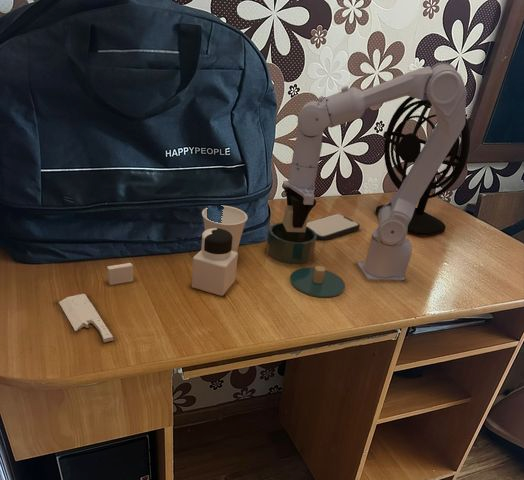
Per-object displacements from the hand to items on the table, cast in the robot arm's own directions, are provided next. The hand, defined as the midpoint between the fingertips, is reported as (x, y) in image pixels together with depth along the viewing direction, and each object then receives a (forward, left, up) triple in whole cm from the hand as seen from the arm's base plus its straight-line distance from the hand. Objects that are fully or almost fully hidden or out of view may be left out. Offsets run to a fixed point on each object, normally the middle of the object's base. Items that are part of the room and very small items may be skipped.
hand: (294, 222), depth 117 cm
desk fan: (-41, -22, -9) cm, 47 cm away
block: (0, 0, -1) cm, 1 cm away
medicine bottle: (+20, +14, -9) cm, 26 cm away
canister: (0, 0, -8) cm, 8 cm away
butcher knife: (+45, +27, -8) cm, 53 cm away
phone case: (-15, -15, -9) cm, 23 cm away
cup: (+17, +3, -9) cm, 19 cm away
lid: (-3, +14, -8) cm, 16 cm away
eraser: (+39, +13, -9) cm, 42 cm away
